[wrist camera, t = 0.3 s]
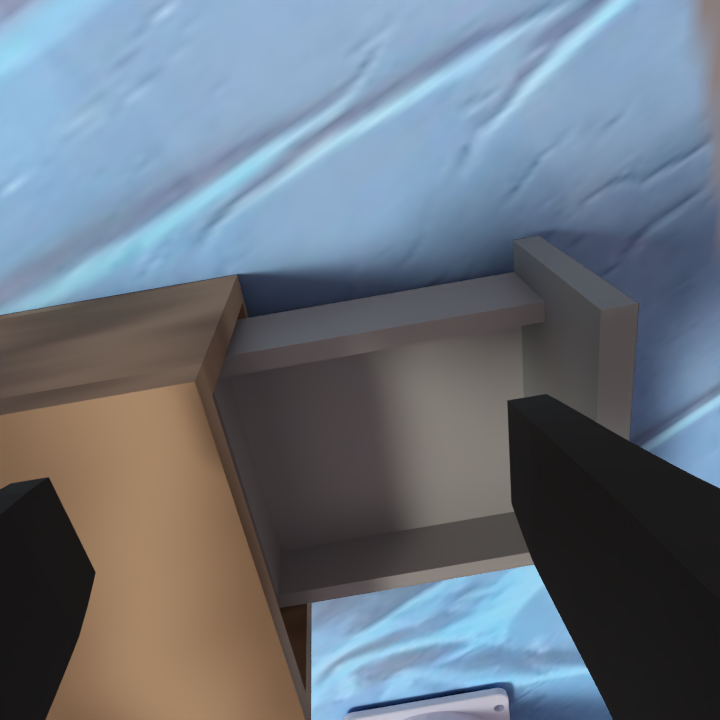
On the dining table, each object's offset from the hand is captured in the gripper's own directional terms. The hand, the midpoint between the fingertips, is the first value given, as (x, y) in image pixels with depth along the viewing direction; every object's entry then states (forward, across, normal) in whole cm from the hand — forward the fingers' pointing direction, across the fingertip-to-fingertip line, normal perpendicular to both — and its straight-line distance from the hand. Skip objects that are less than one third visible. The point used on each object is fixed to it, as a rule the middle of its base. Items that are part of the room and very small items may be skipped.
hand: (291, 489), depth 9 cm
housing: (+10, +7, +5) cm, 13 cm away
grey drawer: (+9, -2, +5) cm, 11 cm away
